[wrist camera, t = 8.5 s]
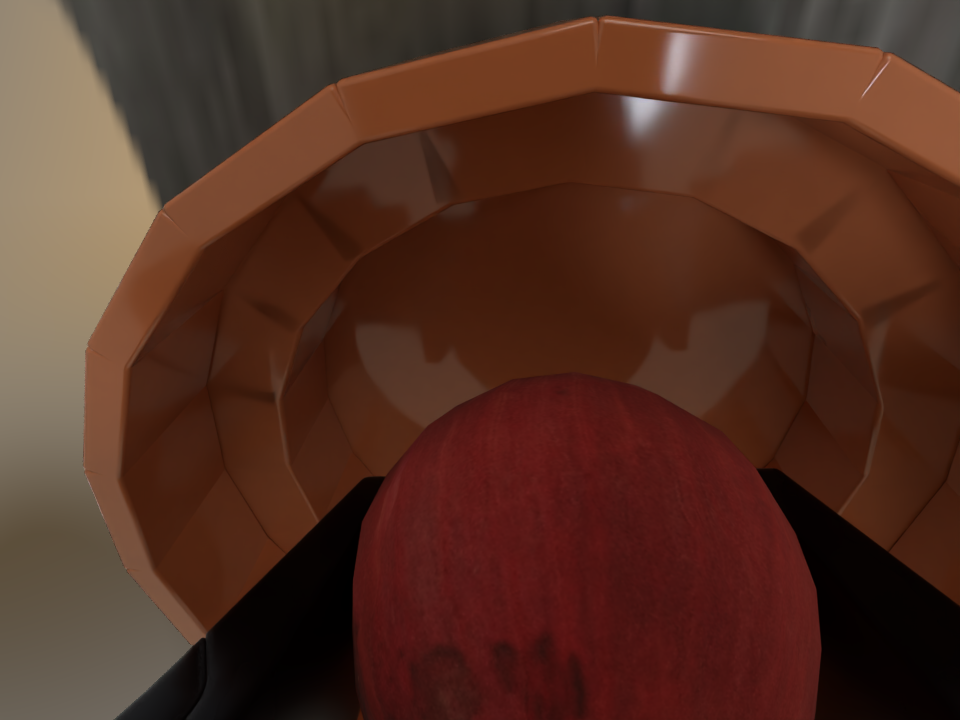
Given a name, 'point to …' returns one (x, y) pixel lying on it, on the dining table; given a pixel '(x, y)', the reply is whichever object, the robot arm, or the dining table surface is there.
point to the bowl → (542, 286)
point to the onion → (580, 568)
